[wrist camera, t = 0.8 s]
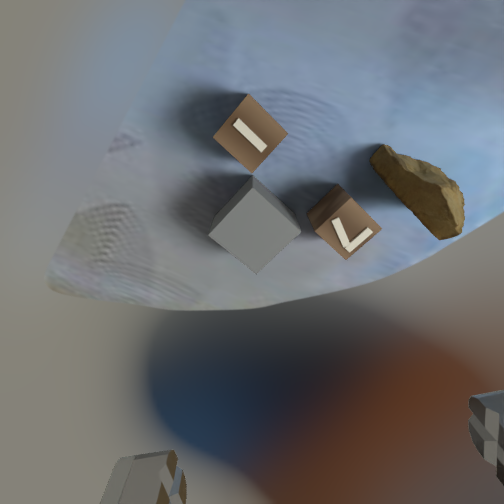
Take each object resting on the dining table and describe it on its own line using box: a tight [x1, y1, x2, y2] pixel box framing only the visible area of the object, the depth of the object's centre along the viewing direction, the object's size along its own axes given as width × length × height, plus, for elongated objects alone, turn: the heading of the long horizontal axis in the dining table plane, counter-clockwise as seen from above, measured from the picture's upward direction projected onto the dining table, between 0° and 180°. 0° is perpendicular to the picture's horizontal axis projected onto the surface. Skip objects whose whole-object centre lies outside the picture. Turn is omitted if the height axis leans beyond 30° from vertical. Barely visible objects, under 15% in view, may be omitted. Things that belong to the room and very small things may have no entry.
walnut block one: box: [213, 94, 288, 173], centre depth 34 cm, size 5×5×6 cm
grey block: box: [208, 175, 301, 274], centre depth 38 cm, size 7×7×6 cm
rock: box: [369, 144, 465, 240], centre depth 36 cm, size 11×9×10 cm
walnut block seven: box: [307, 184, 382, 260], centre depth 38 cm, size 5×5×6 cm
